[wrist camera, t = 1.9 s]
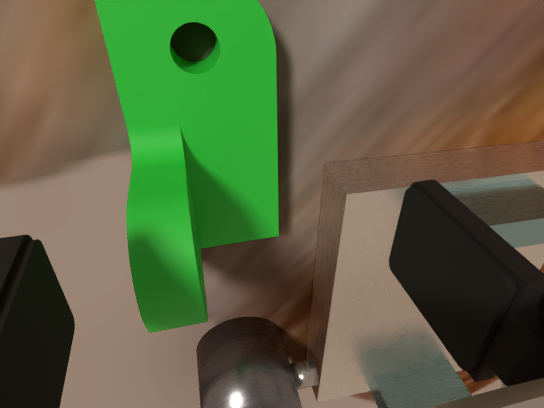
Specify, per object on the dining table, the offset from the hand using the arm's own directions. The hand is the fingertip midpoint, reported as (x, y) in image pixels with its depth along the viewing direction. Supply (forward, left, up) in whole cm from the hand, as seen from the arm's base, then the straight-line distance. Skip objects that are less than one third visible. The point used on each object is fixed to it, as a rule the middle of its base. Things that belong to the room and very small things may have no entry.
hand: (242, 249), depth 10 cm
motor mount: (-9, +12, -9) cm, 17 cm away
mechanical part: (0, 0, -10) cm, 10 cm away
